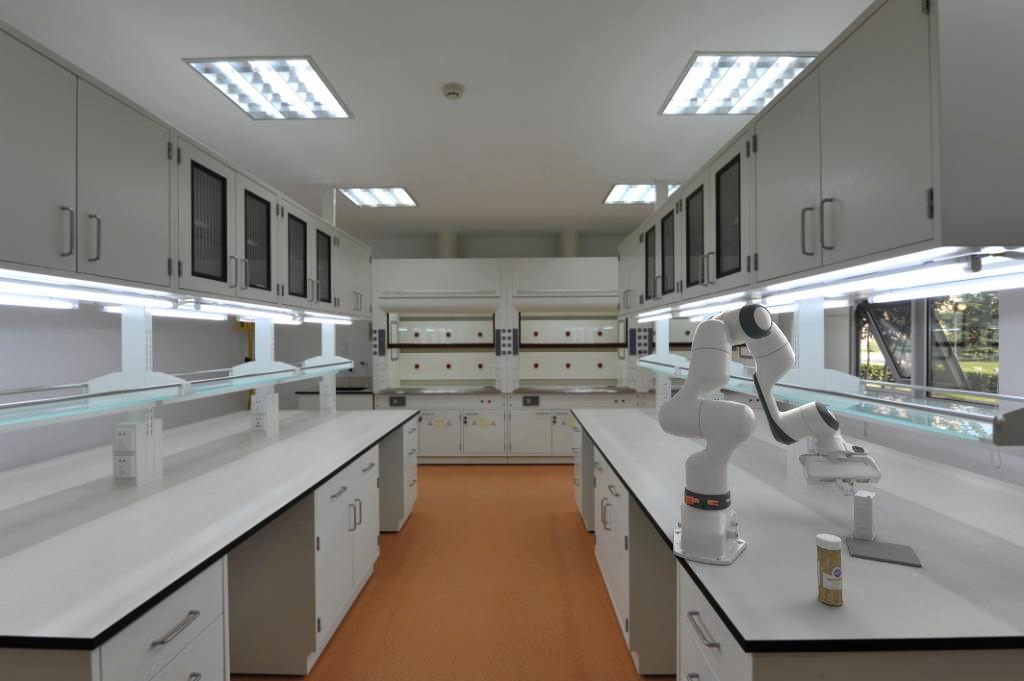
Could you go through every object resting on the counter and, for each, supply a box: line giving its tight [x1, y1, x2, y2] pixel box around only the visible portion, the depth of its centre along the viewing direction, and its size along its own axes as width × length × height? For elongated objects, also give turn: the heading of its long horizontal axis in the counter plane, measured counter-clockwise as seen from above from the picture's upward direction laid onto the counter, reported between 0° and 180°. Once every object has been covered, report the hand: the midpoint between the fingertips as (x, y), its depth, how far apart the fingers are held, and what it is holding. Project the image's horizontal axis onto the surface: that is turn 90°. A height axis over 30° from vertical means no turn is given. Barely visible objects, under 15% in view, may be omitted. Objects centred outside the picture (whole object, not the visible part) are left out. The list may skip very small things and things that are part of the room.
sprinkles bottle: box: [815, 533, 844, 607], centre depth 102 cm, size 5×5×14 cm
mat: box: [845, 536, 923, 568], centre depth 124 cm, size 12×14×1 cm
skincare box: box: [853, 490, 878, 541], centre depth 134 cm, size 6×4×12 cm
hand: (850, 495), depth 141 cm, fingers closed
